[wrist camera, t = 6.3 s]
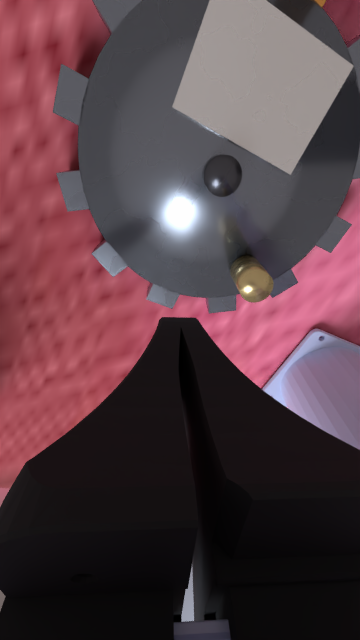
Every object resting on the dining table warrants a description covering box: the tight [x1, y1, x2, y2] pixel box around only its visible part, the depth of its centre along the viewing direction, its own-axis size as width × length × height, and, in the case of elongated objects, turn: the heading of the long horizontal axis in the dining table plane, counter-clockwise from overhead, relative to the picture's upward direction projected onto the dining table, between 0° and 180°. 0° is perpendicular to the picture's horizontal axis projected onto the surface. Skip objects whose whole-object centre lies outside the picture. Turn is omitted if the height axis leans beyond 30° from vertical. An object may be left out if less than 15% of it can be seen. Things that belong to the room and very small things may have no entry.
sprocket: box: [53, 0, 360, 313], centre depth 14 cm, size 16×16×4 cm
